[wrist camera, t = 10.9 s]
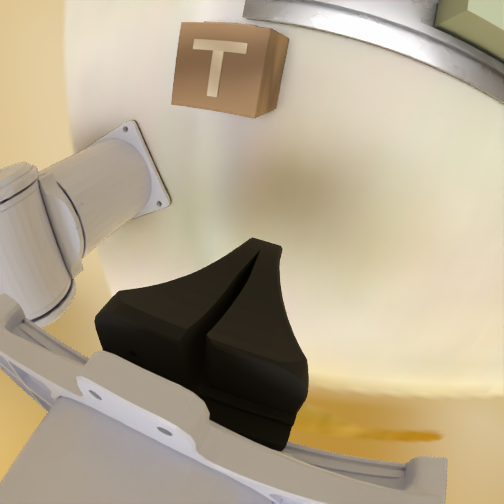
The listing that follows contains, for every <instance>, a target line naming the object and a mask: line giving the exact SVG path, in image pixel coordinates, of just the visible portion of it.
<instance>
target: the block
mask: <svg viewBox="0 0 504 504" xmlns="http://www.w3.org/2000/svg"><path fill="white" fill-rule="evenodd" d="M288 43H289V38H287V37H285V36H284V35H282V34H280V33H278V32H276V31H275V30H273V29H271V28H264V27H259V26H256V25H249V24H238V23H225V22H204V23H197V22H181V29H180V35H179V42H178V50H177V57H176V66H175V74H174V83H173V93H172V103H171V104H172V105H180V106H187V107H194V108H200V109H207V110H213V111H219V112H224V113H230V114H235V115H240V116H245V117H250V118H256V117H258V116H261V115H263V114H265V113H267V112H269V111H271V110H273V109H276V105H277V100H278V95H279V90H280V84H281V79H282V74H283V69H284V64H285V58H286V53H287V48H288Z"/></svg>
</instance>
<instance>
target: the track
mask: <svg viewBox="0 0 504 504" xmlns="http://www.w3.org/2000/svg"><path fill="white" fill-rule="evenodd" d="M438 3H439V0H246V1H245V6H244V11H243V16H242V17H244V18H246V19H251V20H260V21H268V22H275V23H282V24H288V25H294V26H299V27H304V28H309V29H314V30H319V31H323V32H328V33H332V34H336V35H340V36H344V37H348V38H351V39H355V40H358V41H362V42H365V43H368V44H372V45H375V46H378V47H381V48H384V49H387V50H390V51H393V52H395V53H398V54H401V55H404V56H406V57H409V58H412V59H414V60H417V61H419V62H422V63H424V64H426V65H429V66H431V67H433V68H436V69H438V70H440V71H442V72H444V73H447V74H449V75H451V76H453V77H455V78H457V79H459V80H461V81H463V82H465V83H467V84H469V85H471V86H473V87H475V88H477V89H478V90H480V91H482V92H484V93H486V94H487V95H489V96H491V97H493V98H494V99H496V100H498V101H499V102H501V103H503V104H504V63H502V62H501V61H499V60H498V59H496V58H494V57H493V56H491V55H489V54H487V53H486V52H484V51H482V50H480V49H478V48H477V47H475V46H473V45H471V44H469V43H467V42H465V41H463V40H461V39H459V38H457V37H455V36H453V35H451V34H449V33H447V32H444V31H442V30H440V29H438V28H435V27H434V26H435V20H436V15H437V9H438Z"/></svg>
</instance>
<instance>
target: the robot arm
mask: <svg viewBox="0 0 504 504" xmlns="http://www.w3.org/2000/svg"><path fill="white" fill-rule="evenodd" d="M126 127H127V128H128V131H127V130H126ZM159 201H160V202H161V203H162V205H161V204H160V203H159ZM170 202H171V201H170V198H169V196H168V194H167V192H166V190H165V187H164V185H163V183H162V181H161V179H160V176H159V174H158V172H157V170H156V168H155V165H154V163H153V161H152V159H151V156H150V154H149V152H148V149H147V147H146V145H145V143H144V140H143V138H142V136H141V133H140V131H139V129H138V126H137V124H136V122H135V121H133V120H131V121H128V122H126V123H124V124H123V125H121V126H119V127H118V128H116V129H114V130H113V131H111V132H110V133H108V134H107V135H105V136H103V137H102V138H100V139H99V140H97V141H96V142H94V143H93V144H91V145H90V146H88V147H87V148H85V149H84V150H82V151H81V152H78V153H76V154H74V155H72V156H70V157H68V158H66V159H64V160H62V161H60V162H58V163H56V164H54V165H52V166H50V167H48V168H46V169H44V170H42V171H40V172H38V170H37V167H36V166H33V165H31V164H29V163H26V162H21V163H17V164H14V165H11V166H8V167H5V168H3V169H0V368H1V369H2V370H3V371H4V372H5V373H6V374H7V375H8V376H9V377H10V378H11V379H12V380H13V381H14V382H15V383H16V384H17V385H18V386H20V387H21V388H22V389H23V390H24V391H25V392H26V393H27V394H28V395H29V396H31V397H32V398H33V399H34V400H35V401H36V402H37V403H39V404H40V405H41V406H42V407H43V408H44V409H46V410H47V411H48V413H47V414H46V416H45V417H44V419H43V420H42V422H41V423H40V424H39V426H38V427H37V428H36V430H35V431H34V433H33V434H32V436H31V437H30V439H29V440H28V441H27V443H26V444H25V446H24V447H23V449H22V450H21V452H20V453H19V455H18V456H17V458H16V459H15V461H14V462H13V464H12V465H11V467H10V468H9V470H8V471H7V473H6V474H5V476H4V477H3V479H2V481H1V482H0V504H445V499H446V485H447V458H446V457H431V456H419V457H415V458H413V459H412V460H410V461H409V462H408V463H396V462H389V461H380V460H374V459H367V458H361V457H355V456H350V455H344V454H339V453H333V452H329V451H324V450H320V449H316V448H311V447H307V446H303V445H299V444H295V443H292V442H288V438H289V435H290V431H291V428H292V426H293V424H294V422H295V418H296V415H297V412H298V411H299V409H300V408H301V406H302V405H303V403H304V401H305V400H306V397H307V394H308V384H309V377H308V364H307V359H306V357H305V355H304V354H303V352H302V350H301V348H300V346H299V344H298V342H297V340H296V338H295V336H294V333H293V331H292V328H291V325H290V323H289V320H288V317H287V314H286V310H285V306H284V302H283V298H282V292H281V285H280V271H279V264H280V257H281V253H282V247H281V246H279V245H276V244H273V243H269V242H266V241H262V240H259V239H256V238H251V239H249V240H248V241H246V242H245V243H243V244H242V245H241V246H239V247H238V248H236V249H235V250H233V251H232V252H230V253H229V254H227V255H226V256H224V257H223V258H221V259H219V260H217V261H216V262H214V263H212V264H210V265H208V266H207V267H205V268H203V269H201V270H199V271H196V272H194V273H192V274H189V275H187V276H184V277H181V278H178V279H175V280H172V281H169V282H166V283H162V284H158V285H153V286H149V287H143V288H137V289H130V290H122V291H119V292H117V293H116V294H115V295H114V296H113V297H112V298H111V299H110V300H109V302H108V303H107V304H106V305H105V306H104V307H103V308H102V309H101V310H100V312H99V313H98V314H97V315H96V317H95V327H96V331H97V334H98V337H99V340H100V343H101V345H102V348H103V350H102V351H98V352H95V353H94V354H93V355H92V356H91V358H90V359H89V358H87V357H86V356H84V355H82V354H81V353H79V352H77V351H76V350H74V349H72V348H71V347H69V346H68V345H66V344H64V343H63V342H61V341H60V340H58V339H57V338H55V337H54V336H52V335H51V334H49V333H48V332H46V331H45V330H43V329H42V328H44V327H46V326H48V325H50V324H51V323H53V322H54V321H56V320H57V319H58V318H59V317H61V316H62V315H63V313H64V312H65V311H66V310H67V308H68V307H69V306H70V304H71V302H72V301H73V299H74V296H75V294H76V284H75V281H74V277H76V276H77V275H78V274H79V273H80V272H81V271H82V270H83V266H82V262H81V260H82V258H84V257H85V256H86V255H87V254H88V253H89V252H91V251H92V250H93V249H94V248H95V247H96V246H98V245H99V244H100V243H101V242H102V241H104V240H105V239H106V238H107V237H108V236H110V235H111V234H112V233H113V232H114V231H116V230H117V229H118V228H119V227H121V226H122V225H123V224H124V223H125V222H127V221H128V220H129V219H132V218H135V217H138V216H141V215H144V214H147V213H150V212H153V211H156V210H160V209H163V208H166V207H168V206H169V205H170Z"/></svg>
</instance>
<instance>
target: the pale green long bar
mask: <svg viewBox="0 0 504 504" xmlns="http://www.w3.org/2000/svg"><path fill="white" fill-rule="evenodd" d="M434 27H435V28H438V29H440V30H442V31H444V32H447V33H449V34H451V35H453V36H455V37H457V38H459V39H461V40H463V41H465V42H467V43H469V44H471V45H473V46H475V47H477V48H478V49H480V50H482V51H484V52H486V53H487V54H489V55H491V56H493V57H494V58H496V59H498V60H499V61H501V62H502V63H504V0H439V3H438V9H437V15H436V20H435V26H434Z"/></svg>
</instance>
